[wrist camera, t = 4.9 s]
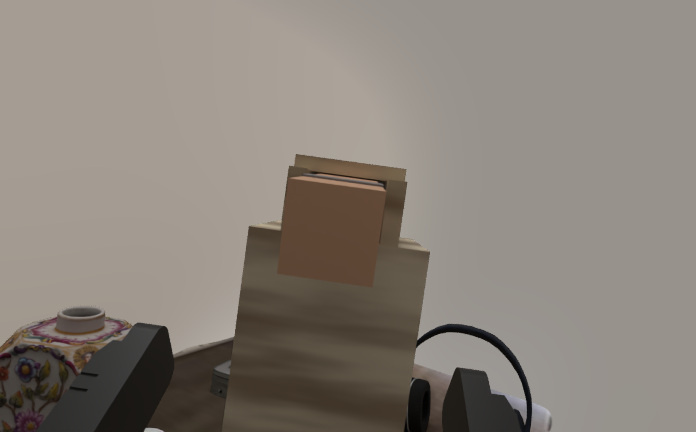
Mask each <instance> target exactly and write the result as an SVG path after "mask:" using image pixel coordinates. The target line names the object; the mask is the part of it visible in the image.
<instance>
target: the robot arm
mask: <svg viewBox="0 0 696 432" xmlns="http://www.w3.org/2000/svg"><path fill="white" fill-rule="evenodd" d="M173 370H174V358H173V354H172V348H171V343H170V338H169V333H168V329H167V328H166V327H165V326H159V325H152V324H145V323H137V324H135V325H134V326H133V327H132V328H131V329H130V331H129V332H128V334H127V335H126V336H125V338H124V339H123V341H119V340H112V341H111V342H109V343H108V344H107V345H105V346H104V347H103V348H101V349H100V350H99V351H97V352H96V353H95V354H94V355H93V356H92V357H91V359H90V360H89V361H88V363H87V364H86V365H85V367H84V368H83V369H82V370H81V373H80V375H78V376H77V377H76V378H75V380H74V381H73V382H72V384H71V385H70V386H69V387H70V388H69V390H66V392H65V393H64V394H63V396H62V397H61V398H60V400H59V401H58V402H57V404H56V405H55V406H54V408H53V409H52V410H51V412H50V413H49V414H48V415H47V417H46V418H45V419H44V421H43V422H42V423H41V425H40V426H39V427H38V429H37V430H36V431H35V432H144V431H145V429H146V427H147V425H148V423H149V421H150V419H151V417H152V415H153V414H154V412H155V410H156V408H157V406H158V404H159V402H160V400H161V398H162V397H163V395H164V393H165V391H166V389H167V387H168V385H169V383H170V381H171V378H172V375H173ZM442 426H443V432H521V429H520V425H519V421H518V417H517V414H516V413H515V411H514V410H513V408H512V407H511V405H510V404H509V402H508V400H507V399H506V397H505V396H504V395H497V394H491V390H490V386H489V381H488V377H487V374H486V373H485V372H484V371H479V370H472V369H465V368H456V369H455V371H454V374H453V377H452V380H451V382H450V385H449V388H448V391H447V393H446V396H445V399H444V403H443V410H442Z"/></svg>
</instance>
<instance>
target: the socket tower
mask: <svg viewBox="0 0 696 432" xmlns="http://www.w3.org/2000/svg"><path fill="white" fill-rule="evenodd" d="M307 173H308V174H322V173H323V174H330V175H337V176H345V177H352V178H359V179H367V180H374V181H377V182H378V183H381V184H383V185H384V186H383V188H384V189H385V191H386V198H385V205H384V212H383V219H382V226H381V232H380V239H379V246H378V253H377V260H376V267H375V273H374V280H373V287H366V286H359V285H352V284H345V283H338V282H331V281H324V280H317V279H310V278H303V277H296V276H289V275H282V274H277V269H278V261H279V252H280V244H281V235H282V227H283V218H284V210H285V202H286V193H287V185H288V178H293V177H300V176H302V174H307ZM405 175H406V169H401V168H393V167H386V166H379V165H371V164H364V163H357V162H349V161H342V160H335V159H327V158H320V157H313V156H305V155H298V154H296V157H295V165H294V166H289V170H288V177H287V184H286V193H285V200H284V207H283V214H282V221H273V222H268V223H263V224H258V225H253V226H249V230H248V238H247V245H246V253H245V261H244V268H243V277H242V284H241V291H240V298H239V306H238V314H237V321H236V329H235V336H234V344H233V352H232V359H231V367H230V374H229V382H228V390H227V397H226V405H225V412H224V420H223V428H222V432H404V427H405V420H406V413H407V406H408V399H409V392H410V385H411V379H412V372H413V365H414V358H415V351H416V344H417V337H418V331H419V324H420V316H421V310H422V303H423V296H424V289H425V283H426V275H427V268H428V262H429V255H430V252H429V251H428V250H427V249H425V248H424V247H422V246H421V245H420V244H418V243H417V242H415V241H414V240H412V239H407V238H400V230H401V223H402V215H403V209H404V202H405V195H406V187H407V182H405Z"/></svg>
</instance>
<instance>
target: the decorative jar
mask: <svg viewBox="0 0 696 432" xmlns="http://www.w3.org/2000/svg"><path fill="white" fill-rule="evenodd" d="M132 327H133V326H132V325H131V324H129V323H128V322H127V321H125V320H121V319H115V318H110V317H105V311H104V310H103V309H102V308H100V307H95V306H75V307H70V308H66V309H62V310H61V311H59V312H58V316H57V317H51V318H47V319H43V320H40V321H37V322H33V323H30V324H27V325H25V326H22V327H21V328H19V329H18V330H17V331H16V332H15V333H14V334H13V335H12V336H11V337H10V338H9V339H8V340H7V341H6V342H5V343H4V344H3V345H2V346H1V347H0V432H35V431H36V430H37V429H38V427H39V426H40V425H41V423H42V422H43V421H44V419H45V418H46V417H47V415H48V414H49V413H50V412H51V410H52V409H53V408H54V406H55V405H56V404H57V402H58V401H59V400H60V398H61V397H62V396H63V394H64V393H65V392H66V390H69V388H70V387H69V386H70V385H71V384H72V382H73V381H74V380H75V378H76V377H77V376H78V375H80V373H81V370H82V369H83V368H84V367H85V365H86V364H87V363H88V361H89V360H90V359H91V357H92V356H93V355H94V354H95V353H96V352H97V351H99V350H100V349H101V348H103V347H104V346H105V345H107V344H108V343H109V342H111V341H112V340H119V341H123V339H124V338H125V336H126V335H127V334H128V332H129V331H130V329H131V328H132Z"/></svg>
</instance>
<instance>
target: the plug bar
mask: <svg viewBox="0 0 696 432" xmlns="http://www.w3.org/2000/svg"><path fill="white" fill-rule="evenodd" d="M383 186H384V185H383V184H381V183H378V182H377V181H374V180H367V179H359V178H352V177H345V176H337V175H330V174H323V173H322V174H308V173H307V174H302V176H300V177H293V178H288V185H287V193H286V202H285V210H284V218H283V227H282V235H281V244H280V252H279V261H278V269H277V274H282V275H289V276H296V277H303V278H310V279H317V280H324V281H331V282H338V283H345V284H352V285H359V286H366V287H373V280H374V273H375V267H376V260H377V253H378V246H379V239H380V232H381V226H382V219H383V212H384V205H385V198H386V191H385V189H384V188H383Z"/></svg>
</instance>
